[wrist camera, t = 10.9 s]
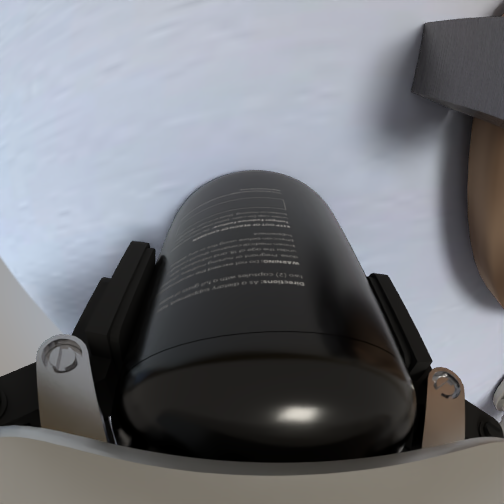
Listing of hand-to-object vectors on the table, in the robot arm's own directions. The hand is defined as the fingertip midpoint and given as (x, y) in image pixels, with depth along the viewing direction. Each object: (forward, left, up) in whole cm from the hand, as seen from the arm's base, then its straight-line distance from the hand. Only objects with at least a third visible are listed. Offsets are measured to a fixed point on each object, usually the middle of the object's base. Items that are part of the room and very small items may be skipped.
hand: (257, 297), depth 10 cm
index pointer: (+9, -6, -3) cm, 11 cm away
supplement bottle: (0, 0, -3) cm, 3 cm away
